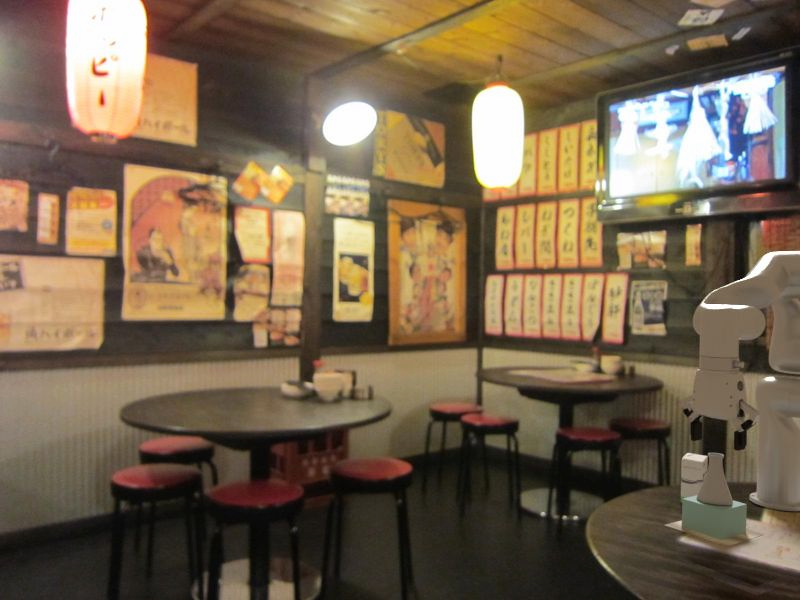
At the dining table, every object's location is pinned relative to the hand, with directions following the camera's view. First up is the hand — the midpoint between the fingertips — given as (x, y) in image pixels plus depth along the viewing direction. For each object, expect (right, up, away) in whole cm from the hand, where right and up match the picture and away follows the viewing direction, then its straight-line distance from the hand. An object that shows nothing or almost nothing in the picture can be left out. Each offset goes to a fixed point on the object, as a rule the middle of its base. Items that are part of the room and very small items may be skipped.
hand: (717, 444), depth 140 cm
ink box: (+4, -20, +21) cm, 29 cm away
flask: (-1, -12, 0) cm, 12 cm away
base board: (-1, -19, 0) cm, 19 cm away
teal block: (-1, -18, 0) cm, 18 cm away
